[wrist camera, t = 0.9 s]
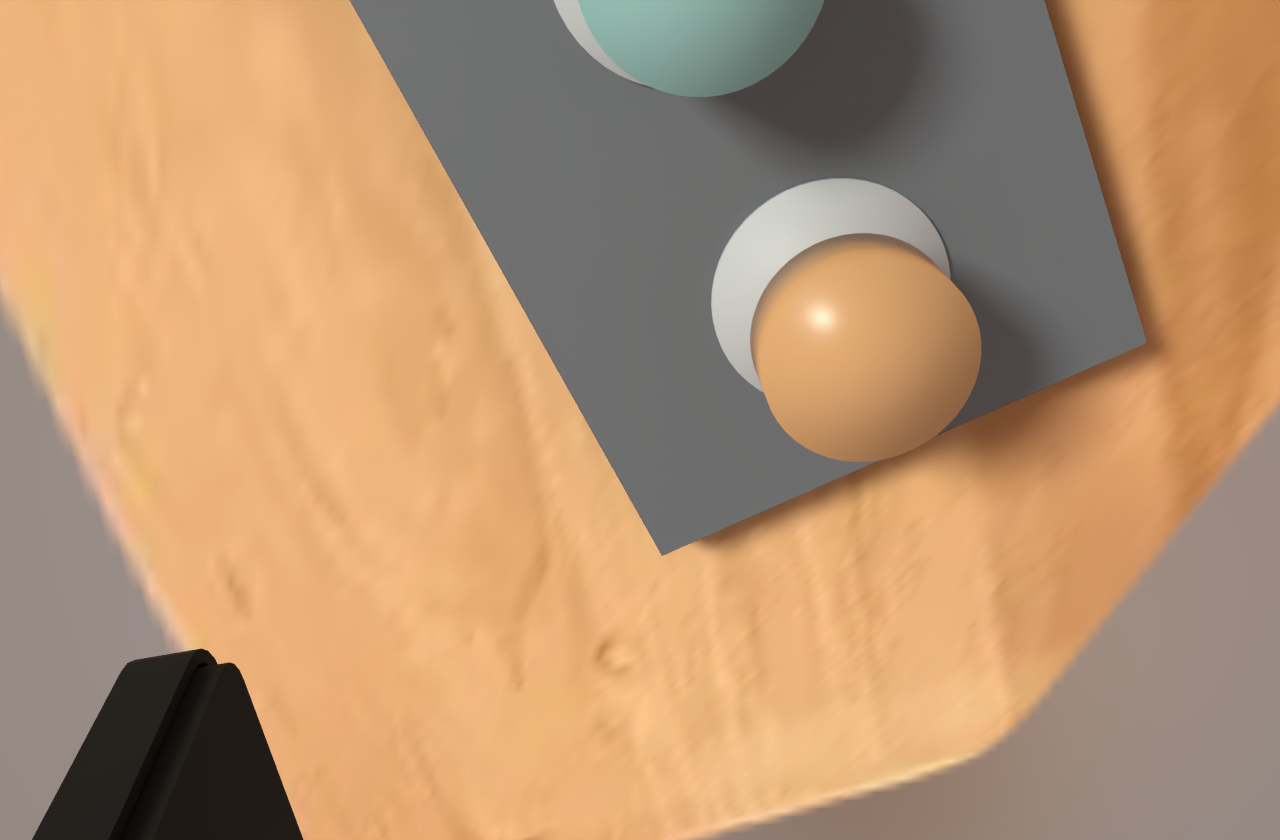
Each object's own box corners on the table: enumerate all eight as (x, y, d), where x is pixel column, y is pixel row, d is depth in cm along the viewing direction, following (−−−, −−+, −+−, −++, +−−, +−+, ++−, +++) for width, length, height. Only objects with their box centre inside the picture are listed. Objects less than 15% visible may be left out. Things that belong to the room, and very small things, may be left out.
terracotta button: (903, 185, 26) (939, 220, 24) (969, 358, 28) (1009, 407, 26) (711, 275, 27) (727, 318, 25) (789, 439, 29) (811, 494, 27)
